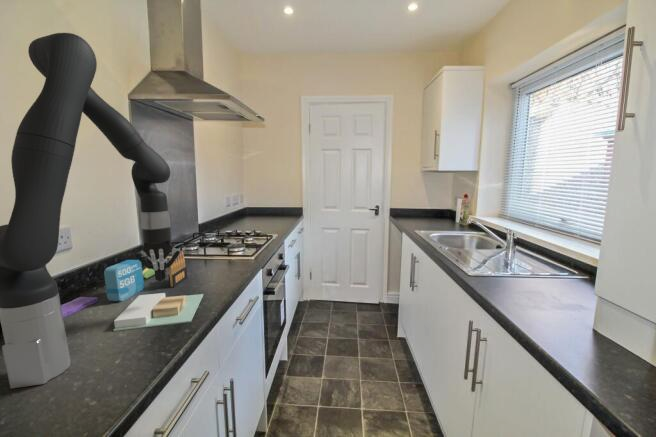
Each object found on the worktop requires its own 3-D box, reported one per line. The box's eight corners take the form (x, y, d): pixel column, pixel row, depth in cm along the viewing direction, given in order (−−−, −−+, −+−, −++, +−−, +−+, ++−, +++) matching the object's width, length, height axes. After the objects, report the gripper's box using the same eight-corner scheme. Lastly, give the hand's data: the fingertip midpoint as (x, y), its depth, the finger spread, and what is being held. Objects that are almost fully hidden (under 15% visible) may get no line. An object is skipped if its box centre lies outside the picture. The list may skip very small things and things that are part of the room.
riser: (146, 324, 85) (145, 317, 85) (115, 328, 84) (114, 320, 83) (165, 298, 103) (165, 292, 102) (140, 301, 101) (139, 295, 101)
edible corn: (169, 268, 139) (168, 258, 138) (144, 284, 119) (143, 273, 118) (158, 268, 139) (157, 259, 138) (131, 284, 119) (129, 273, 118)
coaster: (178, 314, 91) (177, 307, 90) (153, 317, 89) (152, 309, 89) (186, 302, 99) (185, 295, 99) (163, 304, 98) (162, 297, 98)
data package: (119, 303, 101) (115, 269, 99) (107, 302, 102) (102, 269, 100) (145, 289, 113) (141, 258, 111) (134, 289, 113) (130, 258, 112)
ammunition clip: (174, 287, 114) (170, 257, 112) (169, 287, 114) (166, 257, 112) (187, 277, 124) (185, 250, 123) (183, 277, 124) (180, 250, 123)
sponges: (98, 302, 103) (97, 297, 103) (60, 320, 91) (59, 314, 91) (81, 301, 104) (80, 296, 104) (41, 318, 92) (40, 313, 92)
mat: (190, 322, 87) (190, 320, 87) (113, 331, 83) (113, 329, 83) (203, 294, 106) (203, 293, 106) (141, 301, 102) (141, 300, 102)
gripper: (126, 229, 85) (132, 287, 88) (176, 227, 88) (181, 283, 91) (137, 225, 93) (142, 278, 95) (182, 223, 96) (187, 275, 98)
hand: (161, 280), depth 93 cm, fingers closed
